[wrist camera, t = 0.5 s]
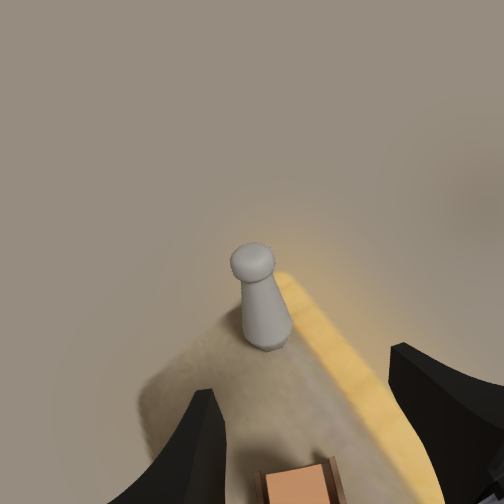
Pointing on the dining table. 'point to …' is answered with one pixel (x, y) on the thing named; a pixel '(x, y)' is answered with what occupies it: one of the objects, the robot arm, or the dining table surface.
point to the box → (331, 483)
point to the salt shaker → (261, 297)
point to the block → (298, 486)
